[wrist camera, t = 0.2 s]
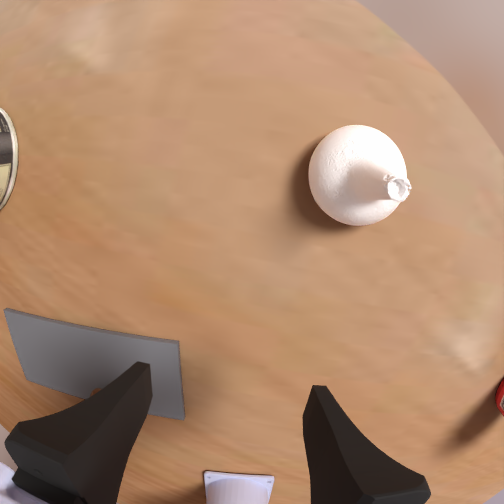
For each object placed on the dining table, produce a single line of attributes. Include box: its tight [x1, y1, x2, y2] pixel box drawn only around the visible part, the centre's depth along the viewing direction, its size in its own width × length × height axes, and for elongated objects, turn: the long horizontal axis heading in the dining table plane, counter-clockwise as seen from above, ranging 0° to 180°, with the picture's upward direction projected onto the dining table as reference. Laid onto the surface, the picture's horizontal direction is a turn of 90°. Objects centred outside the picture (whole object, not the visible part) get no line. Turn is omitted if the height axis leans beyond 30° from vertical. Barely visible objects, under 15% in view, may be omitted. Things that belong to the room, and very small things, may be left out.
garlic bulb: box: [308, 125, 411, 226], centre depth 16 cm, size 6×6×8 cm
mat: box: [4, 308, 185, 420], centre depth 25 cm, size 9×19×1 cm, turn 86°
